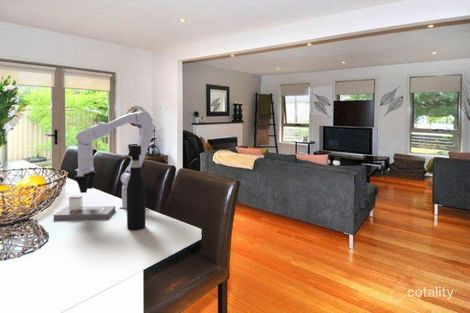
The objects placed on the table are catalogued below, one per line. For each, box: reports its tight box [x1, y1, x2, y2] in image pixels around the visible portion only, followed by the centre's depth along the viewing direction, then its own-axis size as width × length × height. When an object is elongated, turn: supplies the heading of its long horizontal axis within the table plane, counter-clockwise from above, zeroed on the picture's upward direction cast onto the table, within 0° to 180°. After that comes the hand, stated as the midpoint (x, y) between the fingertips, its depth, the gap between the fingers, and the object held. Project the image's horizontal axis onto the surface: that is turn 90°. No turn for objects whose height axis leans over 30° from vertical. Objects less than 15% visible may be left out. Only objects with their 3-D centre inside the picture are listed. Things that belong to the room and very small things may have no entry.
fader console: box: [53, 205, 116, 221], centre depth 125 cm, size 20×12×2 cm, turn 98°
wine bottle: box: [126, 145, 146, 231], centre depth 110 cm, size 6×6×30 cm
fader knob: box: [68, 195, 83, 211], centre depth 124 cm, size 4×3×5 cm
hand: (86, 190), depth 129 cm, fingers open, 7 cm apart
